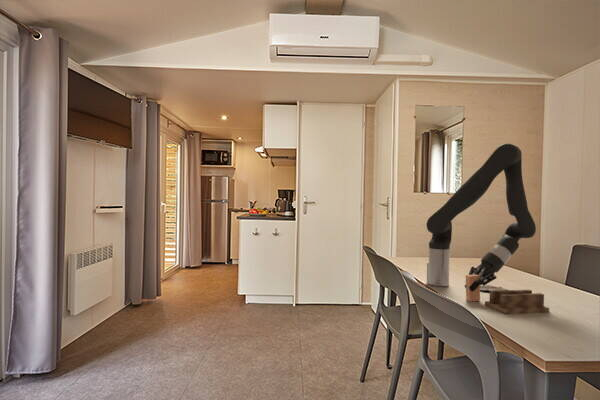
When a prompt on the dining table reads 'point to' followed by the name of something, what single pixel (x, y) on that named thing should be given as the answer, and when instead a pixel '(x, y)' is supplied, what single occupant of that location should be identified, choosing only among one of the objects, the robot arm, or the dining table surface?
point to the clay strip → (469, 294)
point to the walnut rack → (517, 301)
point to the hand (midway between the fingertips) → (468, 288)
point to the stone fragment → (491, 288)
